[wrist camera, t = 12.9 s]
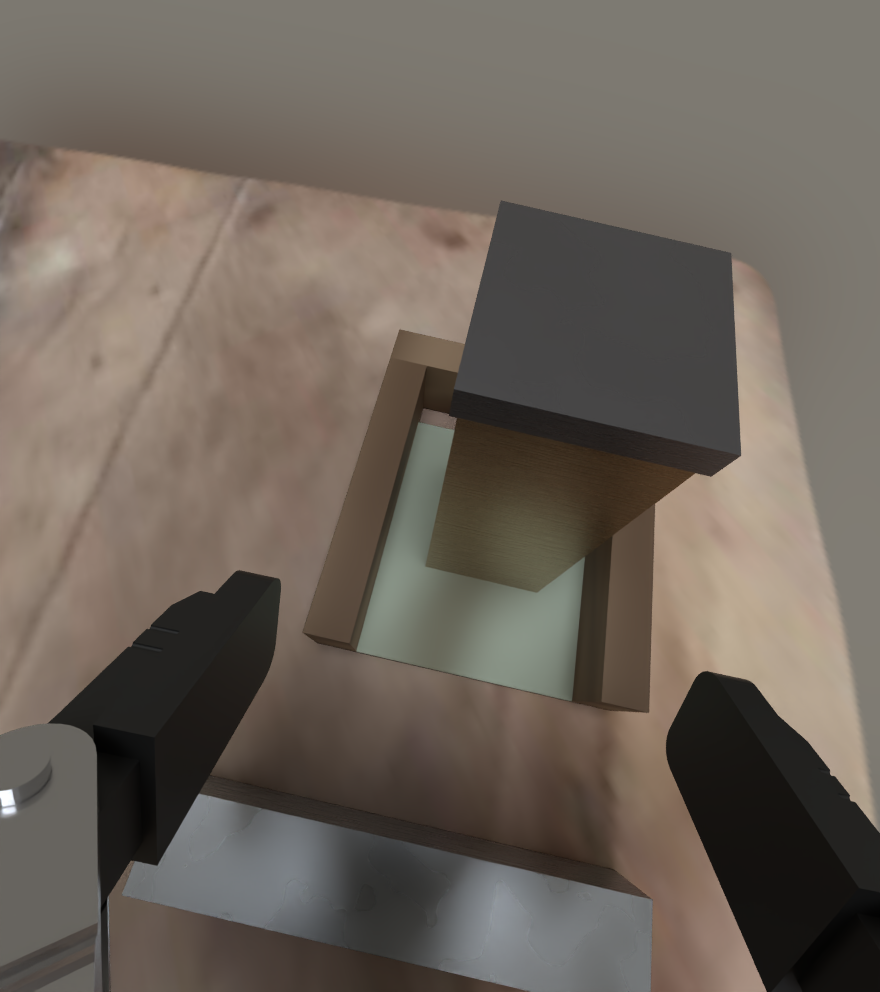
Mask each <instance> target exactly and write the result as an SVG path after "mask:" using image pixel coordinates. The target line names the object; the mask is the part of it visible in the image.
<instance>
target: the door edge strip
mask: <svg viewBox="0 0 880 992" xmlns="http://www.w3.org/2000/svg"><path fill="white" fill-rule="evenodd" d="M122 895H123V896H127V897H132V898H136V899H140V900H144V901H149V902H153V903H157V904H161V905H166V906H170V907H174V908H178V909H183V910H187V911H191V912H195V913H200V914H204V915H208V916H212V917H216V918H221V919H225V920H229V921H233V922H238V923H242V924H246V925H250V926H255V927H259V928H263V929H267V930H272V931H276V932H280V933H284V934H289V935H293V936H297V937H301V938H306V939H310V940H314V941H318V942H323V943H327V944H331V945H335V946H340V947H344V948H348V949H352V950H357V951H361V952H365V953H369V954H374V955H378V956H382V957H386V958H390V959H395V960H399V961H403V962H407V963H412V964H416V965H420V966H424V967H429V968H433V969H437V970H441V971H446V972H450V973H454V974H458V975H463V976H467V977H471V978H475V979H480V980H484V981H488V982H492V983H497V984H501V985H505V986H509V987H514V988H518V989H522V990H526V991H531V992H650V991H651V947H652V903H653V900H652V899H651V898H650V897H648V896H647V895H646V894H645V893H643V892H642V891H641V890H639V889H638V888H637V887H636V886H634V885H633V884H632V883H631V882H629V881H628V880H627V879H625V878H624V877H623V876H622V875H620V874H619V873H618V872H617V871H615V870H612V869H608V868H604V867H599V866H595V865H591V864H587V863H582V862H578V861H574V860H569V859H565V858H561V857H557V856H552V855H548V854H544V853H540V852H535V851H531V850H527V849H522V848H518V847H514V846H510V845H505V844H501V843H497V842H492V841H488V840H484V839H480V838H475V837H471V836H467V835H462V834H458V833H454V832H450V831H445V830H441V829H437V828H433V827H428V826H424V825H420V824H415V823H411V822H407V821H403V820H398V819H394V818H390V817H385V816H381V815H377V814H373V813H368V812H364V811H360V810H355V809H351V808H347V807H343V806H338V805H334V804H330V803H326V802H321V801H317V800H313V799H308V798H304V797H300V796H296V795H291V794H287V793H283V792H278V791H274V790H270V789H266V788H261V787H257V786H253V785H248V784H244V783H240V782H236V781H231V780H227V779H223V778H219V777H214V776H210V775H209V777H208V779H207V780H206V782H205V784H204V785H203V787H202V789H201V791H200V792H199V794H198V796H197V798H196V799H195V801H194V803H193V805H192V806H191V808H190V810H189V812H188V813H187V815H186V817H185V818H184V820H183V822H182V824H181V825H180V827H179V829H178V831H177V832H176V834H175V836H174V838H173V839H172V841H171V843H170V845H169V846H168V848H167V850H166V852H165V853H164V855H163V857H162V858H161V860H160V862H159V864H158V865H157V866H156V865H151V864H146V863H142V862H137V861H135V862H134V865H133V867H132V870H131V873H130V875H129V878H128V880H127V883H126V885H125V888H124V891H123V893H122Z"/></svg>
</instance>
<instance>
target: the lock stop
mask: <svg viewBox="0 0 880 992" xmlns="http://www.w3.org/2000/svg"><path fill="white" fill-rule="evenodd" d="M449 416H452V417H456V418H457V421H456V426H455V430H454V435H453V440H452V444H451V449H450V454H449V458H448V463H447V468H446V472H445V477H444V482H443V486H442V491H441V495H440V500H439V505H438V509H437V514H436V519H435V523H434V528H433V533H432V537H431V542H430V547H429V551H428V556H427V561H426V565H425V567H429V568H433V569H438V570H442V571H446V572H450V573H455V574H459V575H463V576H467V577H472V578H476V579H480V580H485V581H489V582H493V583H497V584H502V585H506V586H510V587H514V588H519V589H523V590H527V591H531V592H536V593H537V592H539V591H540V590H541V589H543V588H544V587H545V586H547V585H548V584H549V583H551V582H552V581H553V580H555V579H556V578H557V577H559V576H560V575H561V574H563V573H564V572H565V571H567V570H568V569H569V568H571V567H572V566H573V565H574V564H576V563H577V562H578V561H580V560H581V559H582V558H584V557H585V556H586V555H588V554H589V553H590V552H592V551H593V550H594V549H596V548H597V547H598V546H600V545H601V544H602V543H604V542H605V541H606V540H608V539H609V538H610V537H612V536H613V535H614V534H616V533H617V532H618V531H619V530H621V529H622V528H623V527H625V526H626V525H627V524H629V523H630V522H631V521H633V520H634V519H635V518H637V517H638V516H639V515H641V514H642V513H643V512H645V511H646V510H647V509H649V508H650V507H651V506H653V505H654V504H655V503H657V502H658V501H659V500H660V499H662V498H663V497H664V496H666V495H667V494H668V493H670V492H671V491H672V490H674V489H675V488H676V487H678V486H679V485H680V484H682V483H683V482H684V481H686V480H687V479H688V478H690V477H691V476H692V475H694V474H695V473H698V474H702V475H706V476H713V475H714V474H716V473H717V472H719V471H720V470H721V469H723V468H724V467H726V466H727V465H728V464H730V463H731V462H733V461H734V460H736V459H737V458H738V457H740V456H741V443H740V423H739V403H738V382H737V362H736V342H735V322H734V301H733V281H732V261H731V253H728V252H724V251H720V250H715V249H711V248H706V247H703V246H698V245H694V244H689V243H685V242H681V241H676V240H672V239H667V238H663V237H659V236H654V235H650V234H645V233H641V232H636V231H632V230H628V229H623V228H619V227H614V226H610V225H606V224H601V223H597V222H593V221H588V220H584V219H580V218H575V217H571V216H566V215H562V214H558V213H553V212H549V211H545V210H540V209H535V208H531V207H527V206H523V205H518V204H514V203H509V202H505V201H501V202H500V206H499V210H498V214H497V218H496V222H495V226H494V230H493V234H492V238H491V242H490V246H489V250H488V254H487V258H486V262H485V266H484V270H483V274H482V278H481V282H480V286H479V290H478V294H477V298H476V302H475V306H474V310H473V314H472V318H471V322H470V326H469V330H468V334H467V338H466V342H465V346H464V350H463V354H462V358H461V362H460V366H459V370H458V374H457V378H456V382H455V386H454V391H453V396H452V402H451V407H450V413H449Z"/></svg>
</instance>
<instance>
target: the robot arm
mask: <svg viewBox="0 0 880 992" xmlns="http://www.w3.org/2000/svg"><path fill="white" fill-rule="evenodd" d="M280 593H281V583H280V580H279V579H278V578H273V577H268V576H264V575H259V574H254V573H250V572H245V571H240V570H239V571H236V572H235V573H234V574H233V575H232V576H231V577H230V578H229V579H228V580H227V581H226V582H225V583H224V584H223V585H222V586H221V588H220V589H219V590H218V591H217V592H216V593H215V594H213V593H208V592H203V591H199V592H197V593H195V594H193V595H191V596H189V597H187V598H185V599H183V600H181V601H179V602H177V603H175V604H173V605H171V606H170V607H169V608H168V609H167V610H166V611H165V612H164V613H163V614H162V615H161V616H160V617H159V618H158V619H157V620H156V621H155V622H154V623H153V624H151V627H150V629H146V630H145V631H144V632H143V633H142V634H141V635H140V636H139V637H138V638H137V639H136V640H135V641H134V642H133V645H132V646H131V647H127V648H126V649H125V650H124V651H123V652H122V653H121V654H120V655H119V656H118V657H117V658H116V659H115V660H114V661H113V662H112V663H111V664H110V665H109V666H108V667H107V668H106V669H104V670H103V671H102V672H101V673H100V674H99V675H98V676H97V677H96V678H95V679H94V680H93V681H92V682H91V683H90V684H89V685H88V686H87V687H86V688H85V689H84V690H83V691H82V692H80V693H79V694H78V695H77V696H76V697H75V698H74V699H73V700H72V701H71V702H70V703H69V704H68V705H67V706H66V707H65V708H64V709H63V710H62V711H61V712H60V713H59V714H57V715H56V716H55V717H54V718H53V719H52V720H51V721H50V722H49V723H47V724H39V725H33V726H28V727H23V728H20V729H16V730H13V731H10V732H7V733H5V734H2V735H0V992H111V974H110V933H109V897H108V896H109V894H110V893H111V891H112V889H113V888H114V886H115V885H116V883H117V881H118V880H119V878H120V877H121V875H122V874H123V872H124V870H125V869H126V867H127V866H128V864H129V862H130V861H131V860H132V861H137V862H142V863H146V864H151V865H156V866H157V865H158V864H159V862H160V860H161V858H162V857H163V855H164V853H165V852H166V850H167V848H168V846H169V845H170V843H171V841H172V839H173V838H174V836H175V834H176V832H177V831H178V829H179V827H180V825H181V824H182V822H183V820H184V818H185V817H186V815H187V813H188V812H189V810H190V808H191V806H192V805H193V803H194V801H195V799H196V798H197V796H198V794H199V792H200V791H201V789H202V787H203V785H204V784H205V782H206V780H207V779H208V777H209V775H210V773H211V772H212V770H213V768H214V766H215V765H216V763H217V761H218V759H219V758H220V756H221V754H222V752H223V751H224V749H225V747H226V746H227V744H228V742H229V740H230V739H231V737H232V735H233V733H234V732H235V730H236V728H237V726H238V725H239V723H240V721H241V719H242V718H243V716H244V714H245V712H246V711H247V709H248V707H249V706H250V704H251V702H252V700H253V699H254V697H255V695H256V693H257V692H258V690H259V688H260V686H261V685H262V683H263V681H264V679H265V677H266V675H267V673H268V671H269V668H270V665H271V662H272V659H273V655H274V651H275V644H276V634H277V624H278V613H279V603H280ZM666 754H667V760H668V764H669V767H670V770H671V772H672V774H673V777H674V779H675V781H676V783H677V786H678V788H679V790H680V793H681V795H682V797H683V800H684V802H685V804H686V806H687V809H688V811H689V813H690V816H691V818H692V820H693V823H694V825H695V827H696V830H697V832H698V834H699V836H700V839H701V841H702V843H703V846H704V848H705V850H706V853H707V855H708V857H709V859H710V862H711V864H712V866H713V869H714V871H715V873H716V876H717V878H718V880H719V882H720V885H721V887H722V889H723V892H724V894H725V896H726V899H727V901H728V903H729V906H730V908H731V910H732V912H733V915H734V917H735V919H736V922H737V924H738V926H739V929H740V931H741V933H742V935H743V938H744V940H745V942H746V945H747V947H748V949H749V952H750V954H751V956H752V958H753V961H754V963H755V965H756V968H757V970H758V972H759V975H760V977H761V979H762V982H763V984H764V986H765V988H766V991H767V992H880V833H879V832H878V831H877V829H876V828H875V827H874V826H873V824H872V823H871V822H870V820H869V819H868V818H867V817H866V815H865V814H864V813H863V811H862V810H861V809H860V808H859V806H858V805H857V804H856V803H855V802H852V801H850V798H849V797H850V795H849V794H848V792H847V791H846V790H845V789H844V787H843V786H842V785H841V783H840V782H839V781H838V780H837V778H836V777H835V776H831V775H830V769H829V768H828V767H827V766H826V764H825V763H824V762H823V761H822V759H821V758H820V757H819V755H818V754H817V753H816V752H815V750H814V749H813V748H812V747H811V745H810V744H809V743H808V741H806V740H805V739H804V738H803V737H802V736H801V735H800V734H798V733H797V732H796V731H795V730H794V729H793V728H792V727H790V726H789V725H788V724H787V723H786V722H785V721H784V720H783V719H781V718H780V717H779V716H778V715H777V713H776V712H775V711H774V710H773V708H772V707H771V706H770V704H769V703H768V702H767V700H766V699H765V698H764V696H763V695H762V694H761V692H760V691H759V690H758V689H757V687H756V686H755V685H754V684H753V683H752V682H750V681H748V680H745V679H741V678H736V677H731V676H726V675H722V674H717V673H712V672H708V671H705V672H702V673H700V674H699V675H698V676H697V677H696V679H695V680H694V682H693V684H692V686H691V688H690V690H689V692H688V694H687V696H686V698H685V700H684V702H683V704H682V706H681V708H680V709H679V711H678V713H677V715H676V717H675V719H674V721H673V723H672V725H671V727H670V729H669V732H668V735H667V740H666Z"/></svg>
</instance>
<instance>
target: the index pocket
mask: <svg viewBox="0 0 880 992" xmlns="http://www.w3.org/2000/svg"><path fill="white" fill-rule="evenodd" d="M464 346H465V344H462V343H457V342H453V341H448V340H444V339H440V338H435V337H431V336H426V335H422V334H417V333H413V332H409V331H404V330H399V333H398V336H397V339H396V342H395V345H394V348H393V352H392V355H391V358H390V361H389V364H388V367H387V370H386V373H385V376H384V380H383V383H382V386H381V389H380V392H379V395H378V398H377V401H376V405H375V408H374V411H373V414H372V417H371V420H370V423H369V426H368V430H367V433H366V436H365V439H364V442H363V445H362V448H361V451H360V454H359V458H358V461H357V464H356V467H355V470H354V473H353V476H352V479H351V483H350V486H349V489H348V492H347V495H346V498H345V501H344V504H343V508H342V511H341V514H340V517H339V520H338V523H337V526H336V529H335V532H334V536H333V539H332V542H331V545H330V548H329V551H328V554H327V557H326V561H325V564H324V567H323V570H322V573H321V576H320V579H319V582H318V586H317V589H316V592H315V595H314V598H313V601H312V604H311V607H310V610H309V614H308V617H307V620H306V623H305V626H304V629H303V632H302V633H304V634H305V635H307V636H308V637H310V638H311V639H312V640H314V641H315V642H317V643H320V644H324V645H328V646H333V647H337V648H341V649H346V650H350V651H354V652H359V653H363V654H367V655H372V656H376V657H380V658H385V659H389V660H393V661H398V662H402V663H406V664H411V665H415V666H419V667H423V668H428V669H432V670H436V671H441V672H445V673H449V674H454V675H458V676H462V677H467V678H471V679H475V680H480V681H484V682H488V683H493V684H497V685H501V686H506V687H510V688H514V689H519V690H523V691H527V692H532V693H536V694H540V695H544V696H549V697H553V698H557V699H562V700H566V701H570V702H575V703H579V704H583V705H588V706H592V707H596V708H601V709H605V710H610V711H628V712H646V713H649V696H650V661H651V626H652V591H653V556H654V521H655V504H654V505H653V506H651V507H650V508H649V509H647V510H646V511H645V512H643V513H642V514H641V515H639V516H638V517H637V518H635V519H634V520H633V521H631V522H630V523H629V524H627V525H626V526H625V527H623V528H622V529H621V530H619V531H618V532H617V533H616V534H614V535H613V536H612V537H610V538H609V539H608V540H606V541H605V542H604V543H602V544H601V545H600V546H598V547H597V548H596V549H594V550H593V551H592V552H590V553H589V554H588V555H586V556H585V557H584V558H582V559H581V560H580V561H578V562H577V563H576V564H574V565H573V566H572V567H571V568H569V569H568V570H567V571H565V572H564V573H563V574H561V575H560V576H559V577H557V578H556V579H555V580H553V581H552V582H551V583H549V584H548V585H547V586H545V587H544V588H543V589H541V590H540V591H539V592H537V593H536V592H531V591H527V590H523V589H519V588H514V587H510V586H506V585H502V584H497V583H493V582H489V581H485V580H480V579H476V578H472V577H467V576H463V575H459V574H455V573H450V572H446V571H442V570H438V569H433V568H429V567H425V565H426V561H427V556H428V551H429V547H430V542H431V537H432V533H433V528H434V523H435V519H436V514H437V509H438V505H439V500H440V495H441V491H442V486H443V482H444V477H445V472H446V468H447V463H448V458H449V454H450V449H451V444H452V440H453V435H454V430H451V429H447V428H442V427H438V426H433V425H429V424H425V423H420V422H419V421H420V417H421V413H422V410H423V408H427V409H432V410H436V411H440V412H445V413H450V407H451V402H452V396H453V391H454V386H455V382H456V378H457V374H458V370H459V366H460V362H461V358H462V354H463V350H464Z"/></svg>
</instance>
